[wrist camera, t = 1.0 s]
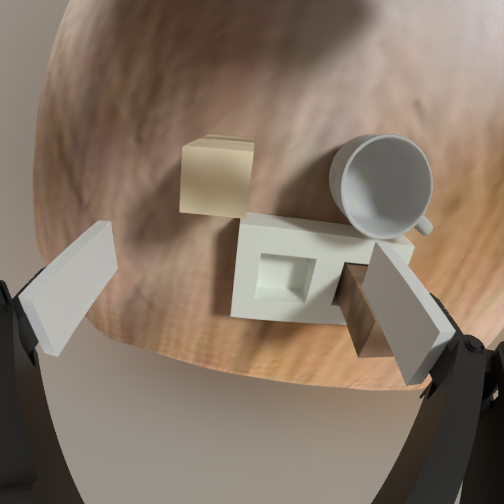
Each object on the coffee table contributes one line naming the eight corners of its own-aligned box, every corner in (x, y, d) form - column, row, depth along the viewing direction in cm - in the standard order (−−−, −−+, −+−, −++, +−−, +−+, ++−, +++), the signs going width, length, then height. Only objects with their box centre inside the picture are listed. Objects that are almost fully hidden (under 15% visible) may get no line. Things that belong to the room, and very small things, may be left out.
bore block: (241, 211, 34) (239, 223, 31) (401, 233, 35) (415, 246, 32) (232, 298, 40) (230, 316, 37) (374, 309, 41) (382, 325, 38)
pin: (210, 133, 30) (182, 146, 19) (254, 137, 30) (253, 151, 19) (206, 175, 32) (179, 212, 21) (249, 179, 33) (245, 218, 21)
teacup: (303, 167, 32) (317, 183, 25) (369, 111, 28) (400, 113, 21) (368, 246, 36) (391, 277, 29) (425, 196, 33) (458, 218, 26)
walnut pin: (342, 256, 36) (375, 321, 24) (375, 260, 36) (416, 321, 25) (332, 288, 38) (358, 357, 27) (364, 290, 38) (397, 356, 27)
